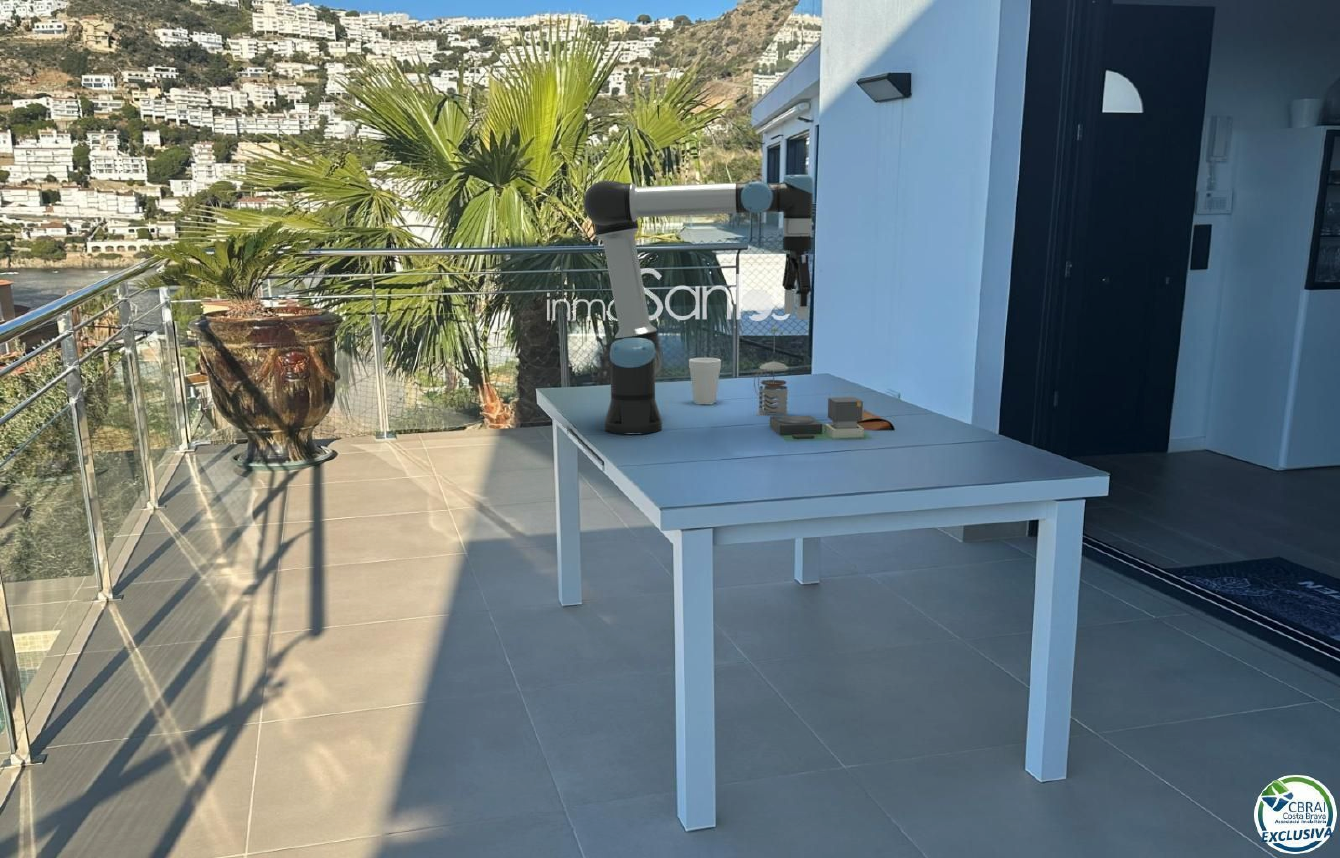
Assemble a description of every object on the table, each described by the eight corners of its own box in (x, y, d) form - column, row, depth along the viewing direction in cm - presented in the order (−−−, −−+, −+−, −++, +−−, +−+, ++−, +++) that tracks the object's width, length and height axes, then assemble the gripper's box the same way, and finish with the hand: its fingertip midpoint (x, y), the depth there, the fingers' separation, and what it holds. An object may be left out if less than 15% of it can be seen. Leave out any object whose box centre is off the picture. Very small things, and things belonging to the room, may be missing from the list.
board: (786, 446, 251) (786, 434, 251) (769, 430, 269) (769, 420, 268) (873, 442, 254) (873, 431, 254) (850, 428, 272) (851, 417, 271)
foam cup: (726, 401, 310) (726, 359, 307) (710, 406, 302) (710, 363, 299) (699, 399, 315) (699, 356, 312) (683, 403, 307) (683, 360, 304)
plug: (834, 437, 255) (835, 402, 253) (827, 432, 261) (828, 397, 259) (861, 436, 256) (862, 401, 254) (854, 431, 262) (855, 396, 260)
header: (832, 438, 254) (832, 429, 254) (824, 432, 261) (824, 423, 261) (863, 437, 255) (863, 428, 255) (854, 431, 262) (855, 422, 262)
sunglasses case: (837, 422, 279) (849, 401, 278) (857, 434, 281) (870, 413, 280) (864, 436, 262) (878, 413, 261) (886, 448, 264) (899, 426, 263)
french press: (773, 421, 282) (775, 329, 276) (743, 414, 290) (744, 326, 285) (797, 416, 288) (799, 327, 283) (767, 410, 296) (768, 323, 291)
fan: (779, 435, 258) (779, 424, 257) (769, 426, 269) (769, 416, 268) (822, 433, 259) (822, 423, 259) (810, 424, 270) (810, 414, 270)
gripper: (824, 236, 258) (822, 320, 262) (799, 234, 282) (797, 311, 286) (795, 236, 257) (793, 321, 261) (772, 234, 281) (771, 312, 285)
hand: (795, 316), depth 274 cm, fingers open, 13 cm apart
